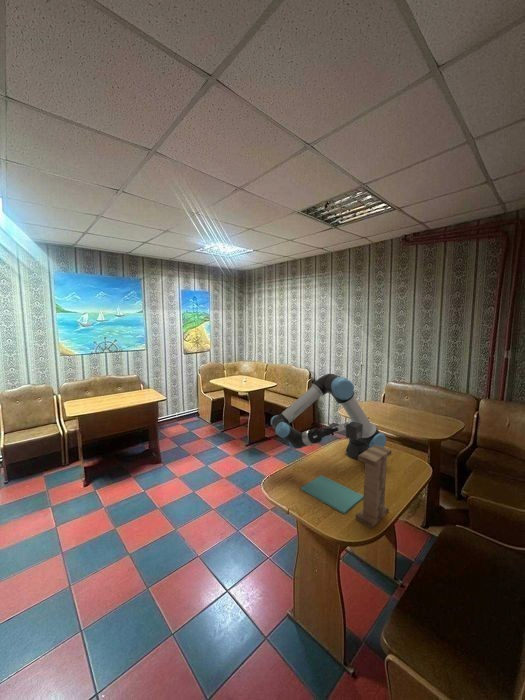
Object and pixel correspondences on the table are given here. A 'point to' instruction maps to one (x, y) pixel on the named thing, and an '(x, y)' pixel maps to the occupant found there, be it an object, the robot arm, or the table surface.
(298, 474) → the table surface
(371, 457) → the walnut stand
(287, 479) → the table surface
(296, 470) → the table surface
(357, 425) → the bar
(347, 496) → the teal mat
